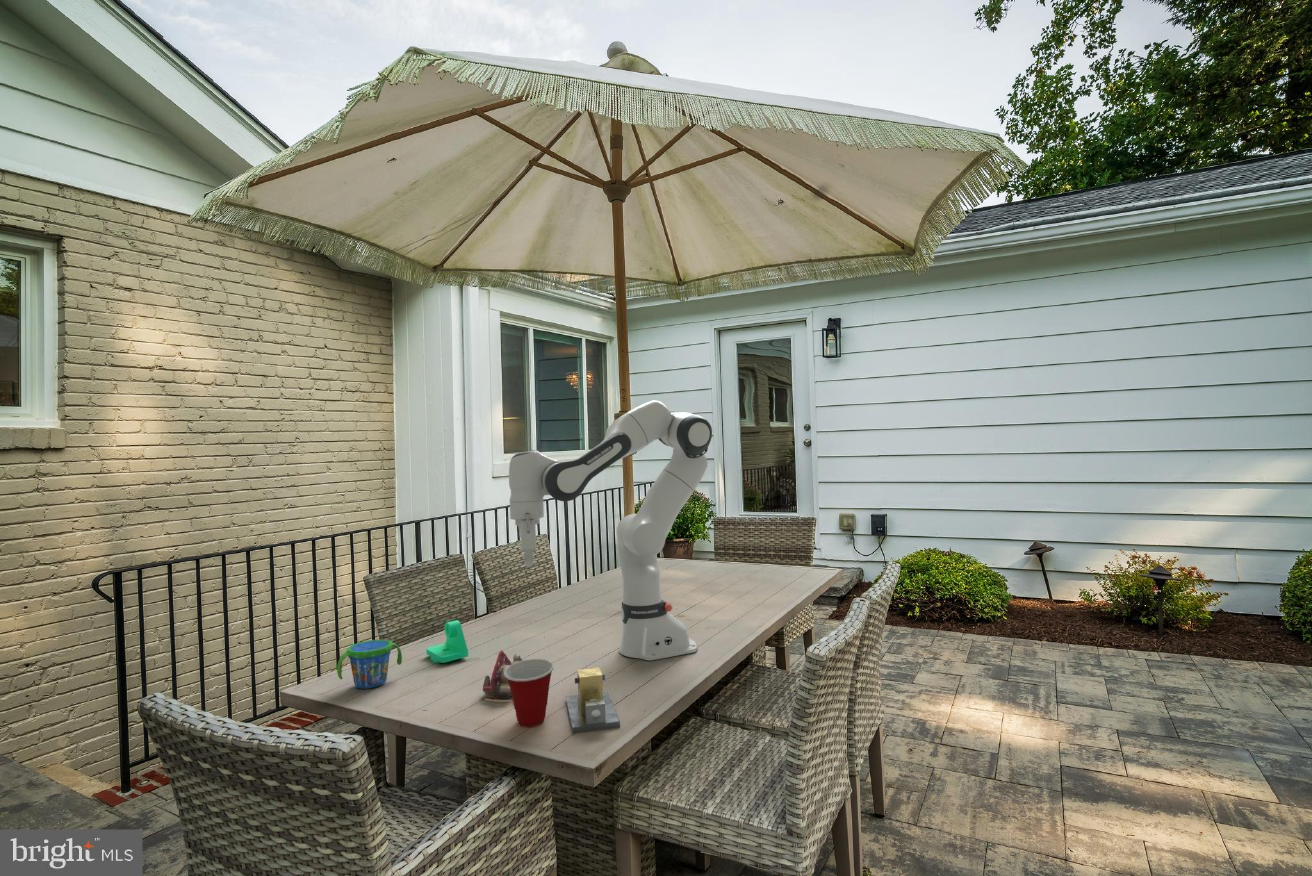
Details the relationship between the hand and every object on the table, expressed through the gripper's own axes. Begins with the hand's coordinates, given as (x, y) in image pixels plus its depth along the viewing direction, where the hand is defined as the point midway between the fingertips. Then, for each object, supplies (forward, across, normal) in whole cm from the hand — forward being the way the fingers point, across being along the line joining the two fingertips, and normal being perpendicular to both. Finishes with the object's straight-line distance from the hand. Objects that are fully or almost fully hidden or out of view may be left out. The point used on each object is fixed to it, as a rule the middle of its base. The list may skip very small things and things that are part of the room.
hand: (528, 563), depth 169 cm
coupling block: (+28, -30, -12) cm, 43 cm away
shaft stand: (+29, -30, -12) cm, 44 cm away
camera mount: (+30, +20, +24) cm, 43 cm away
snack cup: (+29, +5, +41) cm, 51 cm away
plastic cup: (+29, -30, +1) cm, 42 cm away
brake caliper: (+30, -12, +7) cm, 33 cm away
